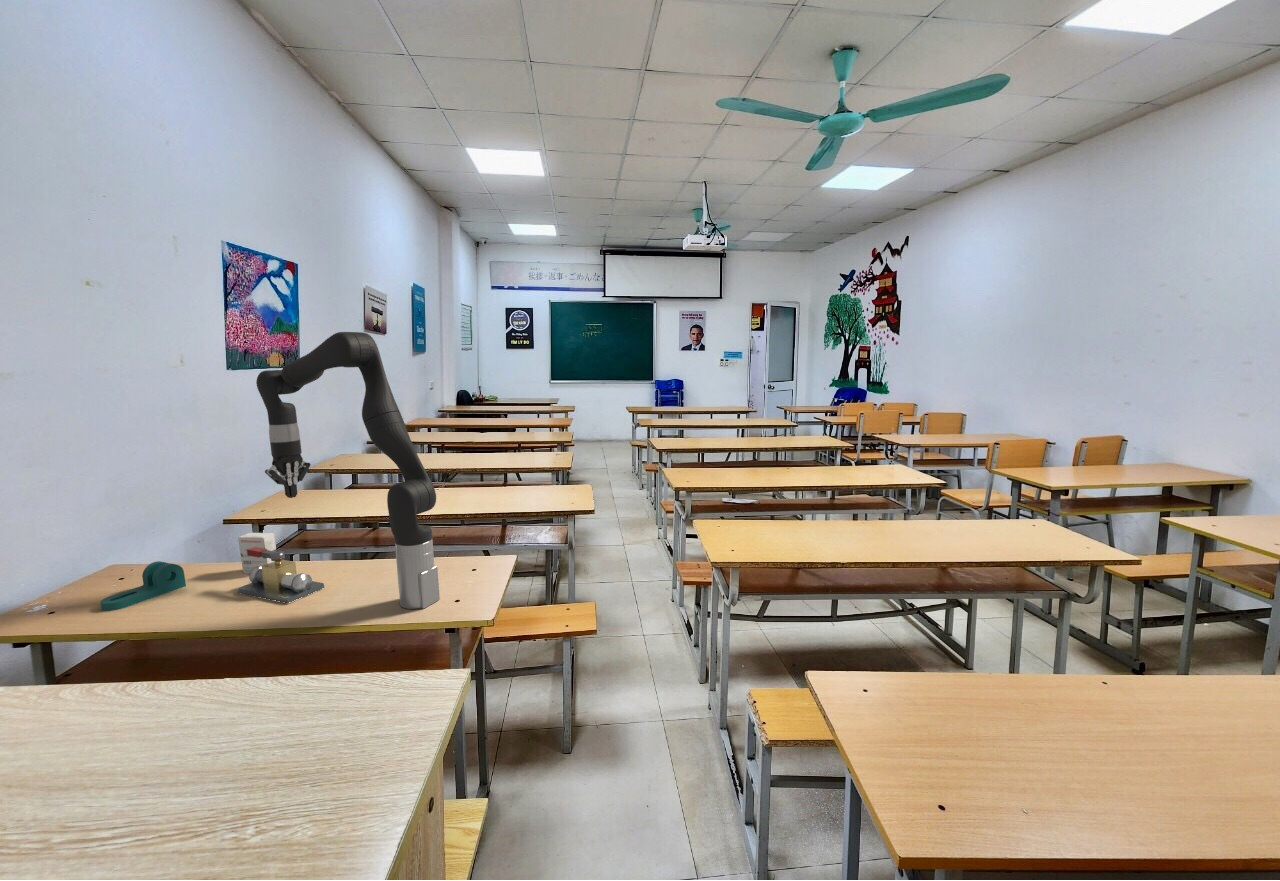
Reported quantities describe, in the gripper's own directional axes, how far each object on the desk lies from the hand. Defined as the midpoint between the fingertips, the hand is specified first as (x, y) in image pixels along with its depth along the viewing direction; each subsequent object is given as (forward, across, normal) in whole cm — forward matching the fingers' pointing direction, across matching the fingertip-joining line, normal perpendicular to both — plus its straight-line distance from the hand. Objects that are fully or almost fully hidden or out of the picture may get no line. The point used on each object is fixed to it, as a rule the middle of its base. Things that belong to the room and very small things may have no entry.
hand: (291, 497), depth 170 cm
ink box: (+24, -2, +15) cm, 29 cm away
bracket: (+25, -27, +27) cm, 46 cm away
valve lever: (+15, -10, -1) cm, 18 cm away
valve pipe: (+24, -10, -5) cm, 27 cm away
